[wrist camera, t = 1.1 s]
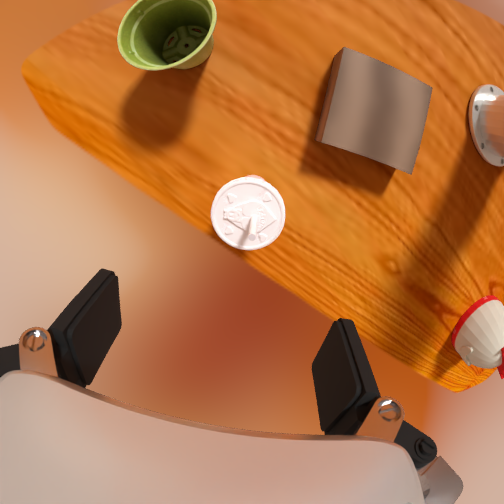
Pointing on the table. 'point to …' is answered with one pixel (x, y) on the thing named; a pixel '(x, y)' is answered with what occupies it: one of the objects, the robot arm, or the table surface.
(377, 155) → the plinth
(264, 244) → the smoothie
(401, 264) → the table surface
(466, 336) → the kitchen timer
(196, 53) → the plant pot
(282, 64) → the table surface
